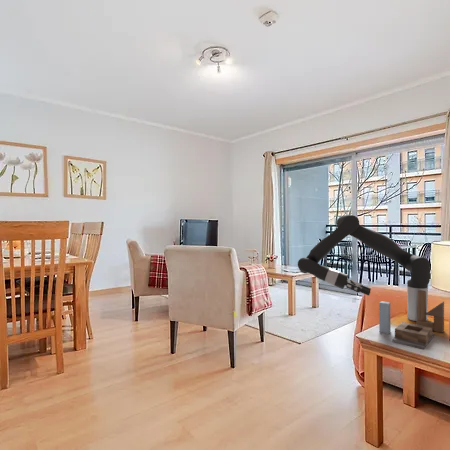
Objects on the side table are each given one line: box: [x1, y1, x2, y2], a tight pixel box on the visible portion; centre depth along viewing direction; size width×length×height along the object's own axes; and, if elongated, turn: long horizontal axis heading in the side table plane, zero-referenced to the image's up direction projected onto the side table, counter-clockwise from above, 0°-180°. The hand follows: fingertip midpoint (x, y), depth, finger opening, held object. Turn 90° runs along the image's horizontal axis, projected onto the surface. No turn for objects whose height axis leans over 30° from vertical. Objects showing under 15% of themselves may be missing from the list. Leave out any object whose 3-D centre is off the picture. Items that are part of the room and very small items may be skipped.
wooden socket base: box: [391, 321, 435, 350], centre depth 142 cm, size 20×12×4 cm, turn 136°
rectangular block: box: [378, 300, 392, 334], centre depth 150 cm, size 3×4×14 cm
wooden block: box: [416, 290, 445, 334], centre depth 152 cm, size 4×11×18 cm, turn 45°
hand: (370, 292), depth 151 cm, fingers open, 8 cm apart
